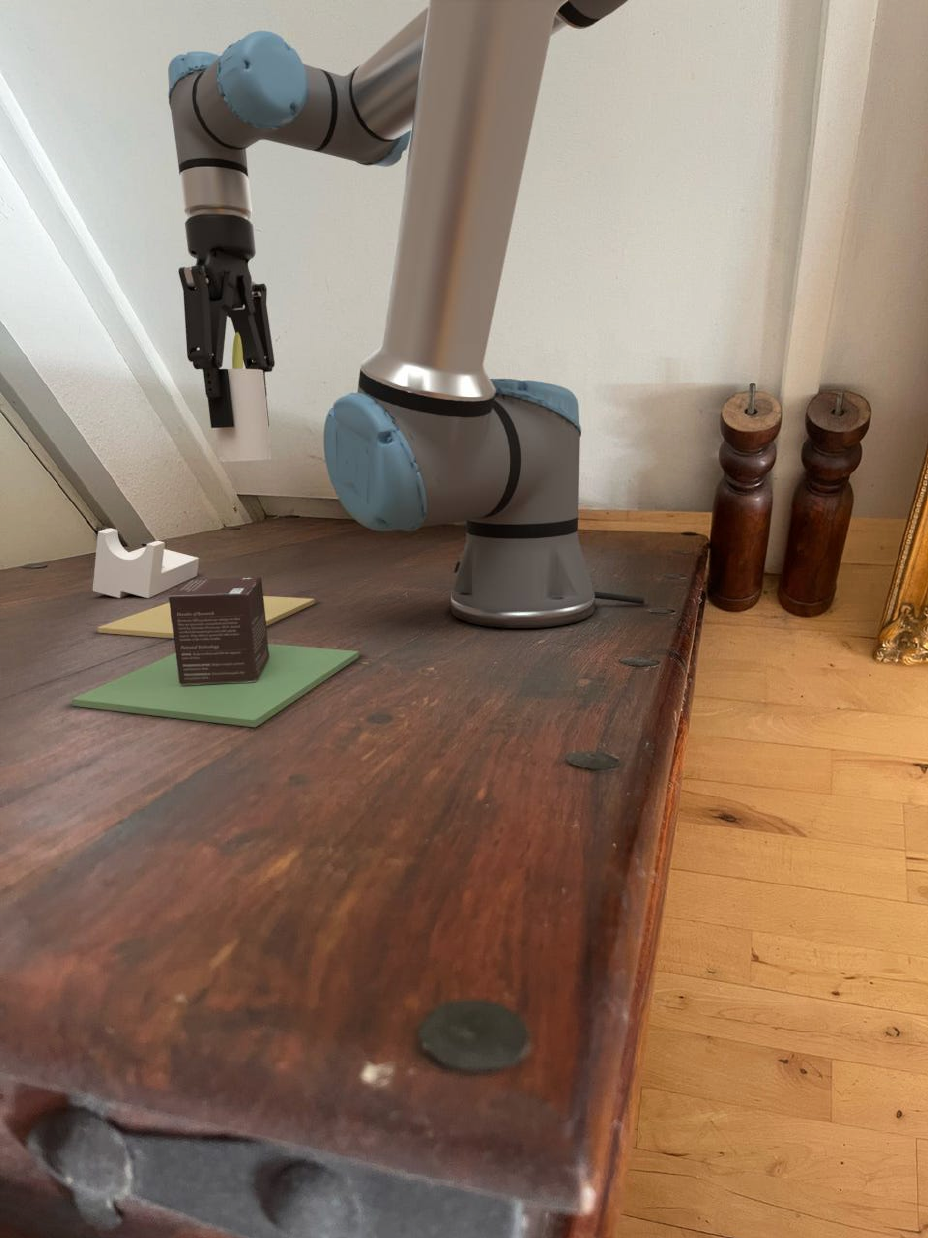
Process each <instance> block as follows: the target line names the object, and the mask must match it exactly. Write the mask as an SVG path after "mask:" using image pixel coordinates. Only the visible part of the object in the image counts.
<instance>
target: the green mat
mask: <svg viewBox="0 0 928 1238" xmlns="http://www.w3.org/2000/svg"><path fill="white" fill-rule="evenodd" d="M268 651H269V658H268V660H267V662H266V664H265V666H264V668H263V670H262V672H261V673H260V675H259V677H258V679H257V681H256V682H252V683H220V684H204V685H195V686H182V685H181V684H180V683H179V676H178V668H177V660H176V652H174V653H172V654H170V655H168V656H165V657H163V658H161V659H159V660H157V661H154V662H151V663H149V664H147V665H145V666H143V667H141V668H139V669H136V670H133V671H131V672H129V673H127V674H125V675H122V676H120V677H118V678H115V679H114V680H111V681H109V682H107V683H105V684H102V685H99V686H98V687H95V688H93V689H91V690H88V691H87V692H84V693H82V694H79V695H78V696H75V697H73V698H71V703H72V706H73V707H79V708H86V709H95V710H103V711H113V712H121V713H128V714H138V715H147V716H154V717H163V718H172V719H180V720H187V721H188V720H189V721H194V722H195V721H196V722H203V723H213V724H221V725H229V726H239V727H247V728H257V727H258V726H261V725H262V724H263V723H264V722H266V721H267V720H269V719H270V718H272V717H273V716H275V715H277V714H278V713H280V711H282V710H284V709H285V708H287V707H288V706H289V705H291V704H293V703H294V702H295V701H297V700H299V699H300V698H301V697H303V696H304V695H306V694H307V693H309V692H311V690H313V689H315V688H316V687H317V686H319V685H321V684H322V683H323V682H325V681H327V680H328V679H329V678H331V677H333V676H334V675H335V674H337V673H338V672H339V671H341V670H343V669H344V668H346V667H347V666H348V665H350V664H351V663H353V662H354V661H355V660H358V659H359V658H360V652H359V650H348V649H336V648H323V647H310V646H296V645H287V644H286V645H284V644H273V643H272V644H271V643H270V644H269V643H268Z"/></svg>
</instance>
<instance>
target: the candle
mask: <svg viewBox="0 0 928 1238" xmlns="http://www.w3.org/2000/svg"><path fill="white" fill-rule="evenodd" d="M231 353H232V354H231V367H232V368H227V369H228V374H229V383H230V392H231V401H232V410H233V420H234V427H225V428H214V429H215V431H214V432H215V437H216V447H217V448H216V449H217V456H218V462H221V463H224V462H225V463H229V462H230V463H231V462H252V461H253V462H255V461H266V460H267V461H268V460H272V458H273V457H272V456H273V455H272V449H271V448H272V447H271V437H270V428H269V427H270V426H268V420H269V416H268V417H267V409H268V406H267V407H266V399H267V396H266V397H265V387H264V377H263V370H258V369H246V368H244V361H243V351H242V343H241V338H240V335H239V333H238V332H236V334H235V333H234V337H233V343H232V351H231Z"/></svg>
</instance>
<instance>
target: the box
mask: <svg viewBox="0 0 928 1238" xmlns="http://www.w3.org/2000/svg"><path fill="white" fill-rule="evenodd" d="M262 581H263V580H262V577H261V576H260V575H259V576H241V577H239V576H238V577H218V578H217V577H216V578H191V579H189V580H187V581H185V583H184V584H182V585H181V586H179V587H178V588H177V589H176V590H174V591H173V592H172V593H170V594H168V601H169V602H170V609H171V619H172V628H173V635H174V639H173V643H174V651H175V652H174V653H176V660H177V668H178V676H179V683H180V684H181V685H182V686H195V685H204V684H220V683H252V682H256V681H257V679H258V677H259V675H260V673H261V672H262V670H263V668H264V666H265V664H266V662H267V660H268V658H269V651H268V644H269V642H268V641H269V640H268V632H267V631H268V630H267V626H266V619H265V609H264V599H263V596H264V591H263V583H262ZM169 602H168V603H169Z"/></svg>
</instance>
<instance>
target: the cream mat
mask: <svg viewBox="0 0 928 1238" xmlns="http://www.w3.org/2000/svg"><path fill="white" fill-rule="evenodd" d="M263 599H264V609H265V619H266V627H268V626H271V625H273V624H275V623H277V622H279V621H281V620H283V619H285V618H288V617H289V616H291V615H294V614H296V613H298V612H301V611H302V610H304V609H306V608H308V607H311V606H313V605H315V604H316V601H315V600H316V599H315V598H308V597H307V598H306V597H288V596H272V595H271V596H268V595H263ZM97 633H99V634H109V635H120V636H121V635H122V636H134V637H148V638H159V639H161V638H162V639H173V640H174V635H173V628H172V619H171V609H170V602H167V603H164V604H161V605H158V606H155V607H152V608H149V609H147V610H143V611H141V612H138V613H135V614H132V615H129V616H126V617H124V618H121V619H117V620H114V621H111V622H109V623H106V624H103V625H100V626H98V627H97Z"/></svg>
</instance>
